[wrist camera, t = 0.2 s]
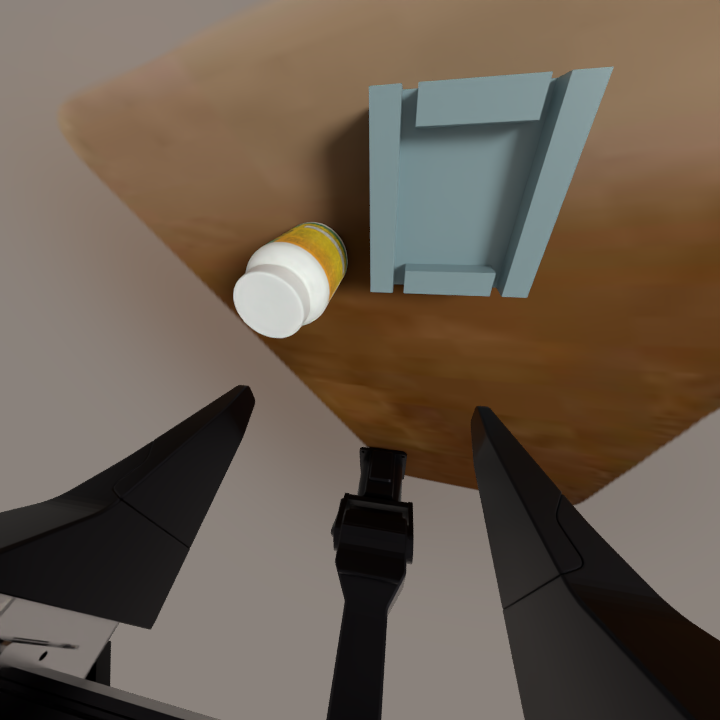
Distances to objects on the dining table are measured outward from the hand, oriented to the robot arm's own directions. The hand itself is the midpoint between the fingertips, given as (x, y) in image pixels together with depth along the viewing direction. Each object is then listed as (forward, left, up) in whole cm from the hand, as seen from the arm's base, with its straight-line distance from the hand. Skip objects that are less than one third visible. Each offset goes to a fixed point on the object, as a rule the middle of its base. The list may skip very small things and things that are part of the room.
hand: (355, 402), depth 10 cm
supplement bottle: (+1, +6, -15) cm, 16 cm away
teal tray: (+5, -4, -15) cm, 16 cm away
